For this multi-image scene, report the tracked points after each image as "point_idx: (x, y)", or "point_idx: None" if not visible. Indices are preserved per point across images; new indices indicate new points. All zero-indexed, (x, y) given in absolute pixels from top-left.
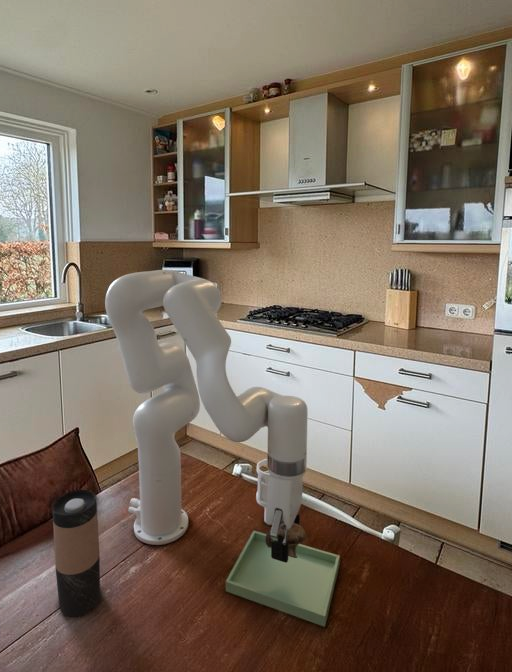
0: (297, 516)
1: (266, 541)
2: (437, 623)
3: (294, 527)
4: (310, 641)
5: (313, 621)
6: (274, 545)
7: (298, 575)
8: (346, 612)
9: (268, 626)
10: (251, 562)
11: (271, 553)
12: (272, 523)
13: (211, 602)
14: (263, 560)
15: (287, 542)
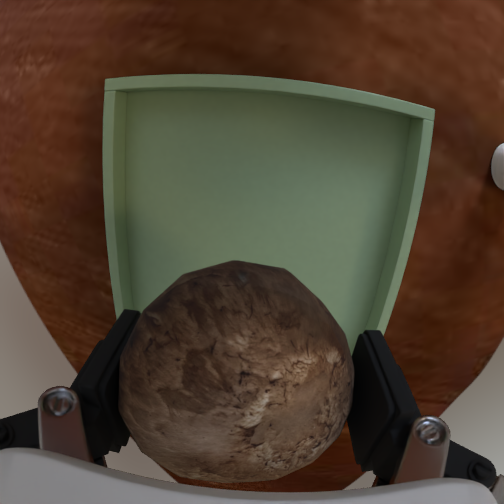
0: (364, 465)
1: (165, 292)
2: (241, 488)
3: (243, 479)
4: (94, 347)
5: None
6: (72, 385)
7: None
8: None
9: (73, 253)
10: (275, 129)
11: (117, 320)
12: (494, 176)
13: (75, 64)
14: (303, 176)
15: (112, 449)
